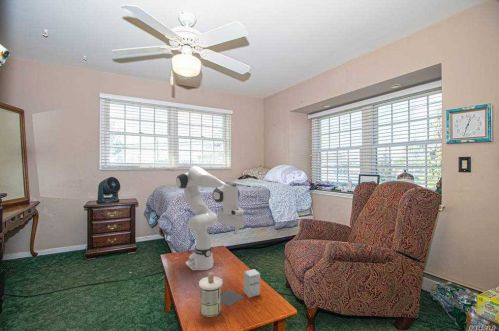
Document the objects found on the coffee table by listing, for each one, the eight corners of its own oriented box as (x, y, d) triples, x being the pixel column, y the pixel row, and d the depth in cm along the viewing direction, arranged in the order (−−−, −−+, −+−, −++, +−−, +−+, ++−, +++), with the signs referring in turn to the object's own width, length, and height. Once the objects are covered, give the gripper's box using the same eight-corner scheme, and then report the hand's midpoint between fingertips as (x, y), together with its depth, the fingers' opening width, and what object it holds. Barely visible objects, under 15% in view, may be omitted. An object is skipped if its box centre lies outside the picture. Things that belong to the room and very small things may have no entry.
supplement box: (249, 298, 135) (249, 276, 135) (243, 292, 142) (243, 270, 142) (260, 295, 139) (260, 273, 139) (254, 289, 145) (254, 268, 145)
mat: (214, 298, 135) (214, 297, 135) (230, 290, 144) (230, 289, 144) (228, 306, 127) (228, 306, 127) (244, 297, 136) (244, 297, 136)
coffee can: (198, 308, 125) (198, 281, 125) (216, 303, 130) (216, 277, 130) (204, 320, 116) (204, 291, 116) (223, 314, 121) (224, 286, 121)
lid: (194, 284, 123) (194, 273, 123) (213, 276, 132) (213, 266, 132) (208, 292, 115) (208, 281, 115) (227, 283, 123) (227, 273, 123)
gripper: (215, 207, 149) (215, 230, 149) (238, 213, 135) (238, 237, 135) (223, 206, 154) (222, 228, 154) (246, 211, 140) (245, 235, 140)
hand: (230, 232), depth 145 cm, fingers open, 8 cm apart
